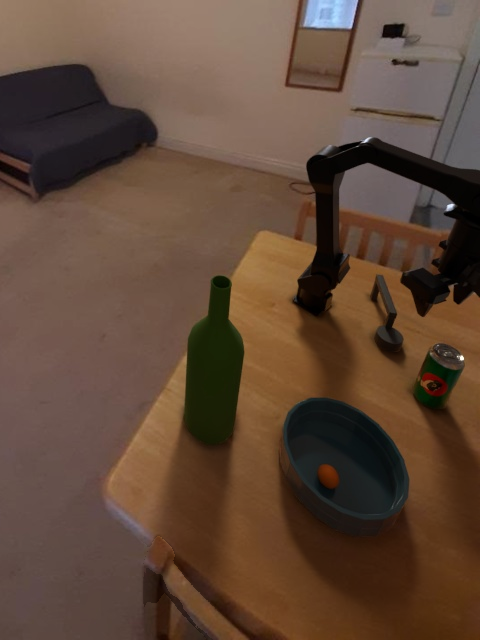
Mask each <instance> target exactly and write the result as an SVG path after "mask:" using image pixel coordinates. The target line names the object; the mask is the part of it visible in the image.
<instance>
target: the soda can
mask: <svg viewBox="0 0 480 640" xmlns="http://www.w3.org/2000/svg"><path fill="white" fill-rule="evenodd" d="M465 366H466V364H465V358H464V355H463V354H462V353H461V352H460V351H459V349H457V348H456V347H454V346H452V345H450V344H448V343H445V342H444V343H443V342H437V343H434V344H433V345H431V346H429V347H428V350H427V352H426V355H425V357H424V359H423V362H422V364H421V366H420V369H419V371H418V374H417V376H416V378H415V381H414V383H413V385H412V393H413V395H414V396H415V398H416V399H417V400H418V402H419V403H421V404H422V405H424V406H425V407H427V408H430V409H434V410H441V409H442V410H443V409H445V407H446V406H447V403H448V401H449V399H450V397H451V395H452V393H453V392H454V389H455V387H456V386H457V383H458V381H459V380H460V377H461V375H462V373H463V371H464V369H465Z"/></svg>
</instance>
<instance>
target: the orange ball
mask: <svg viewBox="0 0 480 640" xmlns="http://www.w3.org/2000/svg"><path fill="white" fill-rule="evenodd" d="M317 475H318V479H319V481H320V482H321V484H322V485H323V486H325V487H326V488H329V489H334V488H336V487H337V486H338V484H339V476H338V473H337V472H336V470H335V469H334V468H333V467H332V466H330V465H327V464H323V465H321V466H320V467H319V468H318V471H317Z"/></svg>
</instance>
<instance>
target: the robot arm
mask: <svg viewBox="0 0 480 640" xmlns="http://www.w3.org/2000/svg"><path fill="white" fill-rule="evenodd" d="M366 164H370V165H372V166H374V167H377V168H379V169H382V170H384V171H388V172H390V173H391V174H392V173H393V174H394V175H398V176H399V177H402V178H405V179H407V180H409V181H411V182H414V183H417V184H419V185H422V186H425V187H427V188H429V189H432V190H435V191H437V192H439V193H440V194H442V195H444V196H445V197H446V198H447V199H448V200H449V201H451V202H452V203H449V204H447V205H446V207H445V208H444V211H443V214H442V215H443V216H445V217H447V218H451V219H454V222H453V223H452V224H453V225H452V226H451V229H450V231H449V234H448V236H447V238H446V239H444V240H441V241H439V243H438V247H439V248H441V249H442V251H441V253H440V256H439V257H436V258H433V259H432V260H431V262H430V265H432V266H434V267H435V268H437V272H438V273H436V274H434V273H432V272H430V271H429V270H428V269H426V268H425V267H416V268H412V269H410V270H406V271H403V272H402V274H401V276H400V279H399V282H400V284H401V285H403V286H404V287H405V288H407V289H408V290H409V291H410V293H411V297H412V299H413V303H414V305H415V310H416V313H417V315H419V317H421V318H425V317H426V315H428V313H429V312H430V310H431V309H432V308H433V306H434V305H439V304H441V303H445V302H447V298H448V297H449V296H450V294H451V290H450V287H452V286H453V289H452V301H453V303H455V304H456V305H461V304H463V303H464V302H465V301H466V300H467V299H468V298H469V297H471V296H472V295H473V294H474V293H475V295H476V296H477V297H478V298H479V299H480V169H476V168H475V169H474V168H461V167H455V166H452V165H448V164H446V163H443V162H440V161H437V160H435V159H432V158H429V157H426V156H425V155H421V154H418V153H415V152H413V151H410V150H407V149H405V148H402V147H399V146H397V145H394V144H391V143H388V142H386V141H383V140H382V139H380V138H378V137H374V136H369V137H366V138H363V139H360V140H357V141H351V142H347V143H344V144H341V145H338V146H337V145H333V144H332V145H331V144H330V145H325V146H323V147H322V148H321V149H319V150H318V151H317V152H315V153H314V154H313V155H312V156H311V157H310V158H308V160H307V161H306V164H305V169H306V174H307V179H308V182H309V184H310V186H311V187H312V189H313V192H314V197H315V199H314V200H315V201H314V202H315V237H316V241H315V242H316V250H315V253H314V256H313V258H312V261H311V262H310V264H309V265H308V266H307V267H306V269H304V271H303V272H302V273H301V275H300V276H299V277H298V278H297V280H296V281H297V285H298V286H297V291H296V295H295V296H294V297H293V298H292V300H291V301H292V302H294V304H296V305H298V306H300V307H301V308H303V309H304V310H306V311H307V312H309V313H310V314H312V315H313V316H315V317H318V316H320V315H321V314H322V313H325V312H326V311H327V310H328V309H329V308H330V307H331V305H332V303H333V302H332V300H333V296H334V294H333V292H332V291H333V290H336V288H337V287H338V286H339V284H342V281H343V280H344V279H345V277H346V276H347V274H348V273H349V271H350V270H351V266H350V263H349V261H350V255H351V254H350V253H344V252H343V251H342V248H341V247H340V188H341V185H342V182H343V180H344V177H345V174H346V172H347V171H350V170H352V169H355V168H357V167H359V166H362V165H366Z"/></svg>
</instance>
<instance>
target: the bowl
mask: <svg viewBox="0 0 480 640" xmlns="http://www.w3.org/2000/svg"><path fill="white" fill-rule="evenodd" d="M278 447H279V448H278V451H279V452H278V453H279V462H280V466H281V469H282V472H283V475H284V478H285V481H286V482H287V485H289V487H290V489H291V490H292V492H293V494H294V495H295V497H296V499H297V500H298V501H299V502H300V503H301V504H302V505H303V506H304V507H305V508H306V509H307V511H309V513H311V515H312V516H313V517H314V518H316V519H317V520H319V521H321V522H322V523H324V524H325V525H327V526H328V527H329V528H331V529H332V530H335V531H336V532H339V533H343V534H346V535H349V536H352V537H355V538H375V537H378V536H380V535H383V534H384V533H386V532H388V531H389V530H391V529H392V528H393V526H394V524H395V523H396V521H397V519H398V518H399V516H400V515H401V513H402V510H403V509H404V507H405V505H406V503H407V500H408V499H409V489H410V476H409V472H408V469H407V465H406V461H405V459H404V457H403V455H402V453H401V452H400V449H399V448H398V447H397V445H396V443H395V441H394V439H393V438H392V437H391V436H390V435H389V434H388V433H387V432H386V430H385V429H384V428H383V427H382V426H381V424H380V423H378V422H377V421H375V420H374V419H373V418H372V417H370V416H369V415H368V414H367V413H365V412H364V411H362V410H361V409H359V408H357V407H355V406H353V405H352V404H349V403H347V402H345V401H343V400H339V399H334V398H330V397H326V396H323V397H321V396H319V397H308V398H306V399H303V400H301V401H298V402H296V403H295V404H294V405H293V407H292V408H290V409H289V410H288V411H287V413H286V415H285V418H284V422H283V425H282V429H281V434H280V437H279V442H278ZM323 464H327V465H330V466H332V467H333V468H334V469H335V470H336V472H337V473H338V476H339V484H338V486H337V487H336V488H334V489H329V488H326V487H325V486H323V485H322V484H321V482H320V481H319V479H318V475H317V471H318V468H319V467H320V466H321V465H323Z"/></svg>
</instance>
